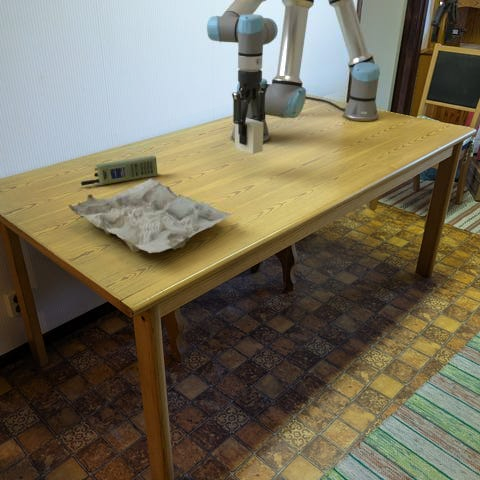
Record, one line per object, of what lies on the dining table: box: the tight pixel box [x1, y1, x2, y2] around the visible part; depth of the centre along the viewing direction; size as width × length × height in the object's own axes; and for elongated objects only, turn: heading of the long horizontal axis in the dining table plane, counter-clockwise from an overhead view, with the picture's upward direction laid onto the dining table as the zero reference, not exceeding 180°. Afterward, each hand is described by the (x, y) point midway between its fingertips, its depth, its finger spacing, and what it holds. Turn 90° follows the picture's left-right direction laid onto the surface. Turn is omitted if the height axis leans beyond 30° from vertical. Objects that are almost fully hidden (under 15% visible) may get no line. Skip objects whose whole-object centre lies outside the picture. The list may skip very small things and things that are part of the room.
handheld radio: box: [80, 155, 159, 187], centre depth 164 cm, size 7×3×25 cm
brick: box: [234, 118, 264, 155], centre depth 167 cm, size 5×8×10 cm, turn 45°
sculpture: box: [68, 178, 232, 254], centre depth 138 cm, size 38×6×30 cm
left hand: (248, 141), depth 168 cm, fingers closed on brick, 5 cm apart
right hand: (441, 41), depth 226 cm, fingers open, 13 cm apart
